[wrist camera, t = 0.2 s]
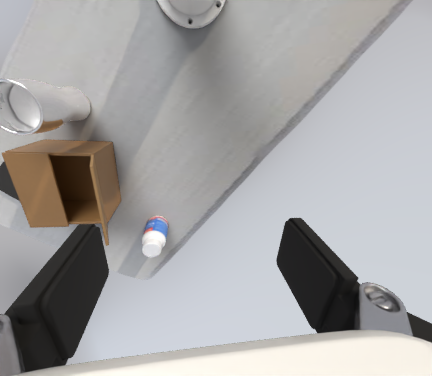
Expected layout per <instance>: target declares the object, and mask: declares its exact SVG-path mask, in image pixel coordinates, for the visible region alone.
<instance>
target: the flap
mask: <svg viewBox="0 0 432 376" xmlns="http://www.w3.org/2000/svg"><path fill="white" fill-rule="evenodd" d="M90 171H91V176H92V181H93V185H94V190H95V195H96V200H97V204H98V209H99V214H100V219H101V224H102V228H103V233H104V238H105V243H106V246H107V245H109V241H108V226H107V220H106V215H105V210H104V205H103V199H102V194H101V189H100V184H99V179H98V174H97V169H96V164H95V158H94V155H91V160H90Z"/></svg>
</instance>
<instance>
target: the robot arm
mask: <svg viewBox="0 0 432 376" xmlns="http://www.w3.org/2000/svg"><path fill="white" fill-rule="evenodd" d="M157 1H158V3H159V5H160V7H161V9H162V10H163V11H164V13H165V14H166V15H167V16H168V17H169V18H170V19H171V20H172V21H174V22H175V23H176V24H178V25H180V26H183V27H185V28H191V29H194V28H201V27H204V26H206V25H208V24H210V23H211V22H212V21H213V20H214V19H215V18H216V17H217V16H218V14H219V13H220V12H221V10H222V8H223V5H224V3H225V0H157ZM216 5H219V8H218V7H217V6H216ZM189 21H191V24H189ZM277 265H278V267H279V269H280V271H281V273H282V275H283V276H284V278H285V280H286V282H287V284H288V286H289V288H290V289H291V291H292V293H293V295H294V297H295V299H296V300H297V302H298V304H299V306H300V308H301V310H302V311H303V313H304V315H305V317H306V319H307V321H308V323H309V324H310V326H311V327H312V328H313V329H315V330H316V332H317V334H309V335H300V336H291V337H283V338H275V339H265V340H257V341H249V342H241V343H232V344H224V345H216V346H208V347H200V348H192V349H184V350H176V351H168V352H160V353H152V354H145V355H137V356H129V357H121V358H113V359H106V360H99V361H93V362H85V363H79V364H71V365H66V362H67V360H68V358H71V357H73V355H74V353H75V351H76V349H77V347H78V345H79V342H80V340H81V338H82V335H83V333H84V330H85V328H86V326H87V324H88V321H89V319H90V316H91V315H92V312H93V310H94V308H95V305H96V303H97V301H98V298H99V296H100V294H101V291H102V289H103V287H104V284H105V282H106V279H107V277H108V273H109V269H108V264H107V260H106V255H105V250H104V246H103V241H102V237H101V232H100V228H99V227H96V226H95V224H80V225H78V226H77V228H76V229H75V230H74V231H73V232H72V234H71V235H70V236H69V237H68V238H67V240H66V241H65V242H64V243H63V244H62V246H61V247H60V248H59V249H58V250H57V252H56V253H55V254H54V255H53V256H52V258H51V259H50V260H49V261H48V262H47V263H46V265H45V266H44V267H43V268H42V269H41V271H40V272H39V273H38V274H37V275H36V276H35V278H34V279H33V280H32V281H31V283H30V284H29V285H28V286H27V287H26V288H25V290H24V291H23V292H22V293H21V294H20V296H19V297H18V298H17V299H16V301H15V302H14V303H13V304H12V305H11V306H10V308H9V309H8V310H7V311H6V313H5V314H0V376H432V324H431V323H429V322H427V321H425V320H422V319H420V318H418V317H416V316H414V315H412V314H410V313H408V312H406V309H405V306H404V305H403V302H402V301H401V300H400V299H399V298H398V297H397V296H396V295H395V294H394V293H393V292H391V291H389V290H388V289H386V288H384V287H382V286H380V285H378V284H374V283H368V282H367V283H362V284H361V285H360V284H359V283H358V282H357V280H358V277H357V276H356V275H355V274H354V273H353V272H352V271H351V270H350V269H349V268H348V267H347V266H346V264H345V263H344V262H343V261H342V260H341V259H340V258H339V257H338V256H337V255H336V254H335V253H334V252H333V251H332V250H331V249H330V248H329V247H328V246H327V245H326V244H325V242H324V241H322V239H321V238H320V237H319V236H318V235H317V234H316V233H315V232H314V231H313V230H312V229H311V228H310V227H309V226H308V225H307V224H306V223H305V222H304V220H302V219H301V218H290V219H289V220H288V221H286V222H285V226H284V230H283V234H282V239H281V243H280V247H279V252H278V256H277Z"/></svg>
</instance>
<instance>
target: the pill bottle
mask: <svg viewBox="0 0 432 376" xmlns="http://www.w3.org/2000/svg"><path fill="white" fill-rule="evenodd" d="M167 231H168V222H167V220H166V219H165V218H164V217H161V216H153V217H151V218H150V219H149V220H148V222H147V224H146V227H145V230H144V234H143V237H142V245H143V248H142V252H143V254H144V255H145V256H147V257H156V256H158V255H159V254H160V253H161V249H162V248H163V247H164V246H165V243H166V237H167Z"/></svg>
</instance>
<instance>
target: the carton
mask: <svg viewBox="0 0 432 376" xmlns="http://www.w3.org/2000/svg"><path fill="white" fill-rule="evenodd" d="M91 155H94V158H95V164H96V169H97V174H98V179H99V184H100V189H101V194H102V199H103V205H104V210H105V215H106V220H107V223H108V221H109V220H110V218H111V217H112V215H113V213H114V212H115V210H116V208H117V207H118V205H119V203H120V202H121V195H120V188H119V182H118V175H117V168H116V162H115V155H114V149H113V142H103V141H72V140H41V141H38V142H34V143H31V144H28V145H25V146H21V147H18V148H15V149H12V150H8V151H5V153H2V156H3V158H4V161H5V163H6V166H7V169H8V171H9V174H10V176H11V179H12V181H13V184H14V187H15V189H16V192H17V194H18V197H19V199H20V202H21V205H22V207H23V210H24V212H25V215H26V217H27V220H28V223H29V225H30V227H67V226H69V224H97V223H101V219H100V214H99V209H98V204H97V200H96V195H95V190H94V185H93V181H92V176H91V171H90V160H91Z"/></svg>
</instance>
